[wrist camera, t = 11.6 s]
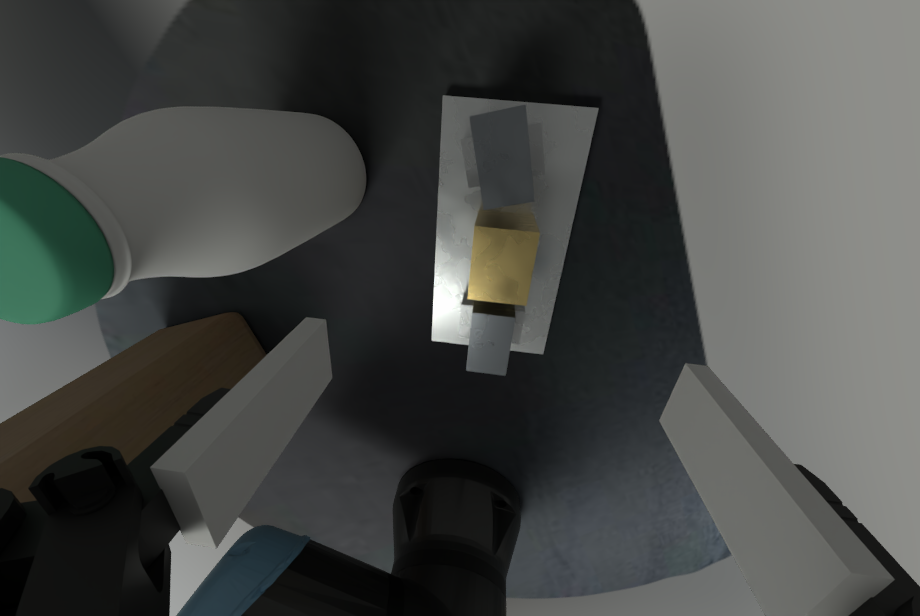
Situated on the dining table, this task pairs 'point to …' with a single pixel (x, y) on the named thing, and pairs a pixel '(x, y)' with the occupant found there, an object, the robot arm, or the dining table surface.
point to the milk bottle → (168, 203)
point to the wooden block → (128, 397)
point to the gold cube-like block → (503, 257)
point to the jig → (508, 190)
